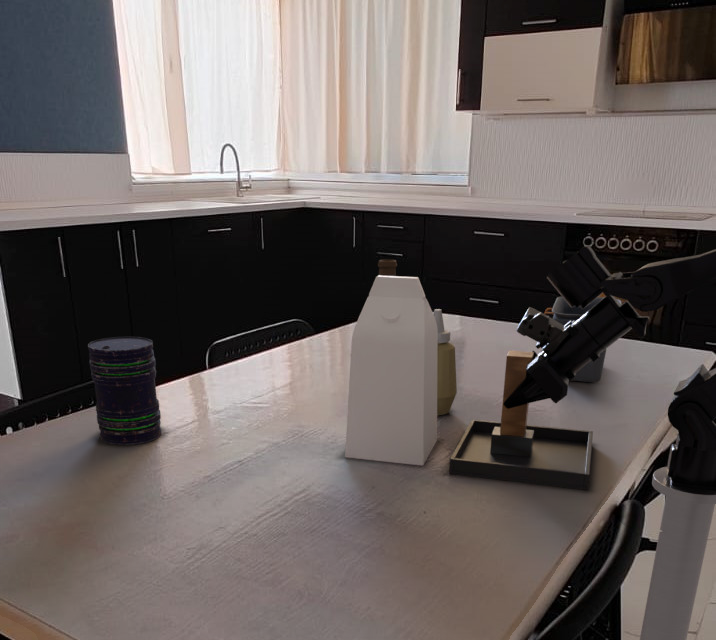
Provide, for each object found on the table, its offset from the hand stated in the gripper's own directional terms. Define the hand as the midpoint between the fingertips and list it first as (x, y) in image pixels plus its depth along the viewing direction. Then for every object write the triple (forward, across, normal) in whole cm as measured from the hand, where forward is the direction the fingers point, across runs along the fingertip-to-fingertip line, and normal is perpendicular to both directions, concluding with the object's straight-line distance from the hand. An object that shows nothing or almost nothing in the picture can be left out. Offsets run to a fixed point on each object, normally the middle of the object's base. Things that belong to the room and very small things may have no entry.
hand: (506, 402), depth 115 cm
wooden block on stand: (+4, 0, +6) cm, 8 cm away
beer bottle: (+25, -33, -14) cm, 43 cm away
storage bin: (0, -54, +12) cm, 56 cm away
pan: (+3, +2, +8) cm, 9 cm away
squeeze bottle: (+16, -18, -4) cm, 24 cm away
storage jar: (+47, +10, -36) cm, 60 cm away
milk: (+18, +3, -6) cm, 19 cm away
